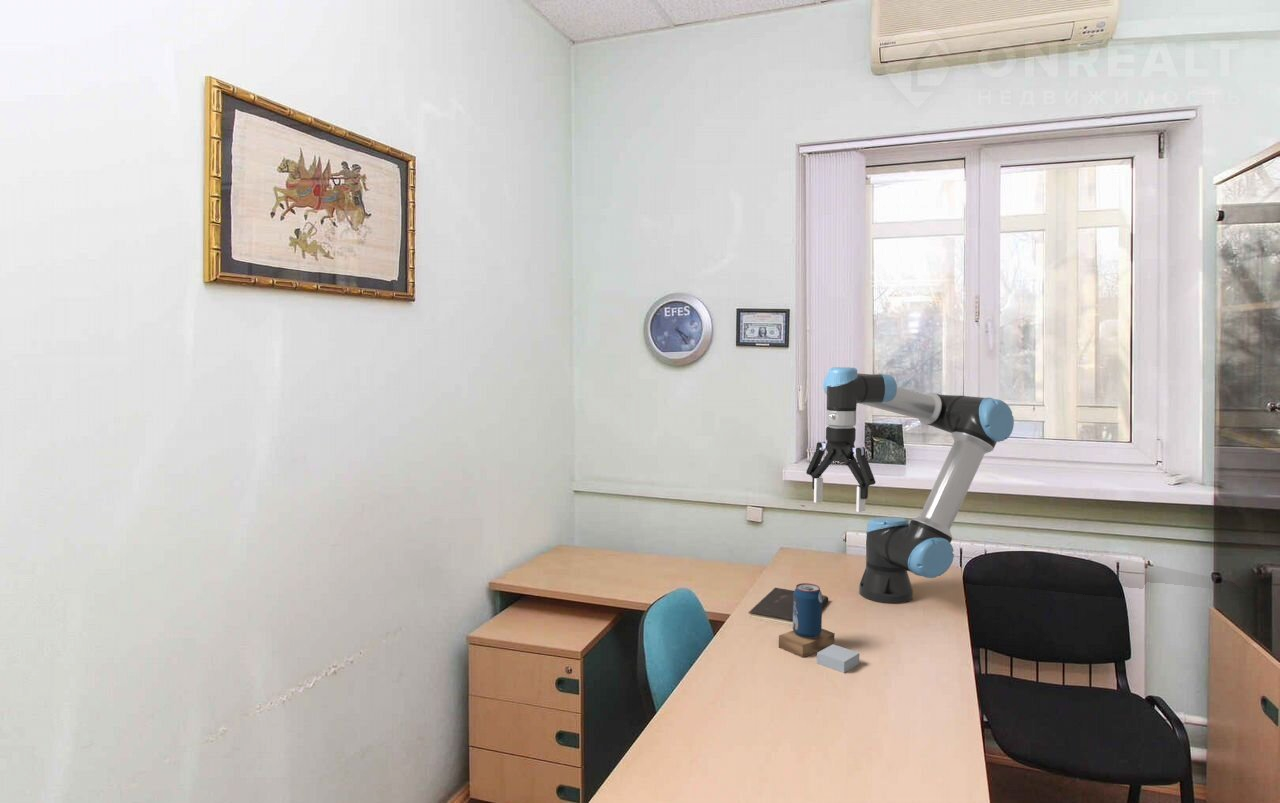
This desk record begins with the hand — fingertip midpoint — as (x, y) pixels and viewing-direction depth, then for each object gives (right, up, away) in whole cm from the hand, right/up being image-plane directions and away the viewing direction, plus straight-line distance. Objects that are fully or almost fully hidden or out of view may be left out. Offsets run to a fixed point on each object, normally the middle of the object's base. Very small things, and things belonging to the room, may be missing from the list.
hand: (838, 506), depth 196 cm
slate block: (-6, -34, -22) cm, 41 cm away
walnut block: (-11, -33, -12) cm, 37 cm away
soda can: (-11, -30, -12) cm, 34 cm away
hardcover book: (-10, -32, +13) cm, 36 cm away
